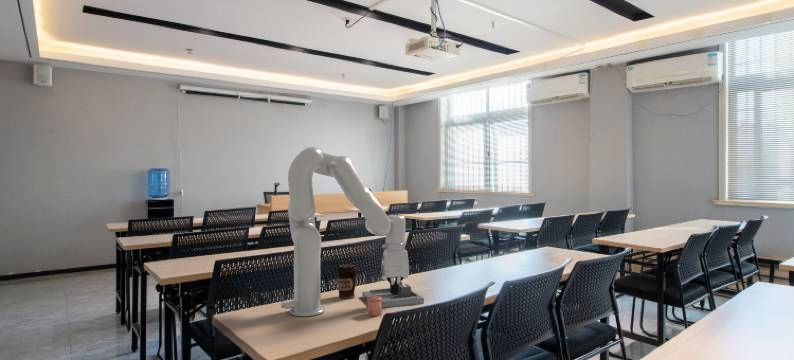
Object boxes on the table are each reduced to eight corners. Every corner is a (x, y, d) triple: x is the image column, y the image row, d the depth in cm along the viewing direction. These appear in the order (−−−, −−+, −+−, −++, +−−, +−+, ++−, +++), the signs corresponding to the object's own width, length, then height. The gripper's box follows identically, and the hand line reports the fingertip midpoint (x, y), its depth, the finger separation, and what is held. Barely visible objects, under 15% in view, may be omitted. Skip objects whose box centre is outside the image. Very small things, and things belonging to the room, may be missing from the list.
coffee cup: (353, 301, 177) (353, 268, 177) (333, 299, 179) (333, 267, 178) (359, 295, 185) (359, 263, 185) (340, 294, 187) (340, 263, 187)
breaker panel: (374, 308, 167) (374, 292, 167) (362, 296, 183) (362, 281, 183) (423, 303, 174) (423, 287, 173) (407, 292, 190) (407, 277, 189)
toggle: (401, 297, 173) (401, 287, 173) (397, 295, 177) (397, 284, 177) (410, 296, 174) (410, 286, 174) (407, 294, 178) (407, 283, 178)
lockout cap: (369, 317, 157) (369, 300, 156) (365, 313, 161) (365, 296, 161) (383, 316, 158) (383, 299, 158) (379, 311, 163) (379, 295, 163)
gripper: (380, 249, 168) (379, 298, 168) (416, 247, 173) (415, 295, 173) (374, 246, 175) (373, 293, 175) (409, 244, 180) (408, 290, 180)
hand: (394, 293), depth 174 cm, fingers closed
